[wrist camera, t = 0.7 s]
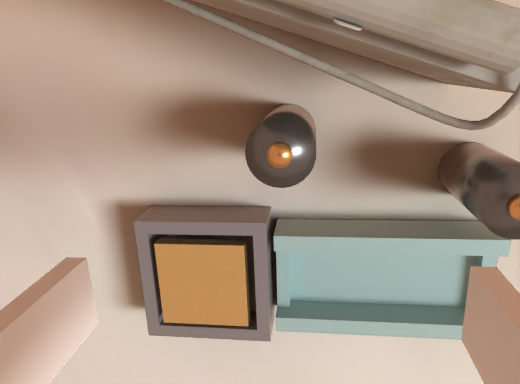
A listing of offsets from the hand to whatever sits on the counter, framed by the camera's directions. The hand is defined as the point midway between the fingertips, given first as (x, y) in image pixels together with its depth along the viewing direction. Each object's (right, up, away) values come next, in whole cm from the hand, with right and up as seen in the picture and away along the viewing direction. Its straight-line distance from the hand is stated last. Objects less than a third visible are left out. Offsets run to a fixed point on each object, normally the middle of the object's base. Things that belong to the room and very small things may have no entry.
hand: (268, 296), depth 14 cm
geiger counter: (+2, +16, +14) cm, 21 cm away
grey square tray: (-4, -2, +21) cm, 21 cm away
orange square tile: (-5, -3, +18) cm, 19 cm away
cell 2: (+15, +5, +16) cm, 22 cm away
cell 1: (+2, +8, +17) cm, 19 cm away
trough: (+9, -2, +19) cm, 21 cm away
